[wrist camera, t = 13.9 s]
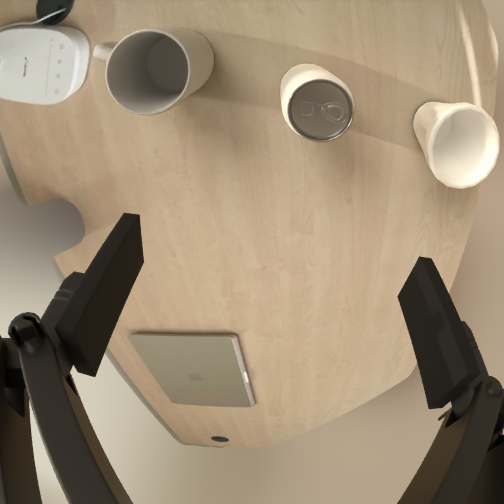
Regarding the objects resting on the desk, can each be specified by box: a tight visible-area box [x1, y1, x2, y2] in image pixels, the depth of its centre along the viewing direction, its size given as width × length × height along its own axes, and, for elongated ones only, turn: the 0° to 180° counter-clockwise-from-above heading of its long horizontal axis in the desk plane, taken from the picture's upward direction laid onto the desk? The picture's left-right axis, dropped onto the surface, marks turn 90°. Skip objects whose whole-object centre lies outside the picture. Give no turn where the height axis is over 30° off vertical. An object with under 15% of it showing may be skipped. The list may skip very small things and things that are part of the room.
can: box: [280, 64, 354, 142], centre depth 29 cm, size 6×6×12 cm
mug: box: [93, 28, 214, 115], centre depth 28 cm, size 12×8×11 cm
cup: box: [413, 101, 499, 189], centre depth 31 cm, size 10×10×9 cm
